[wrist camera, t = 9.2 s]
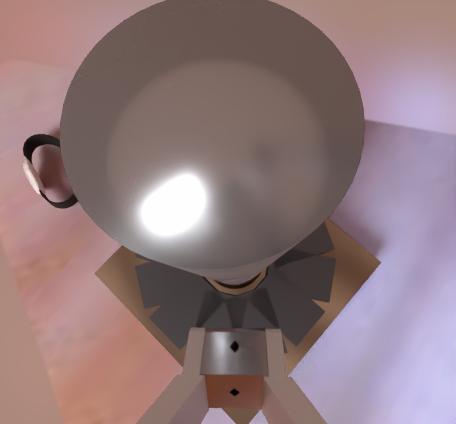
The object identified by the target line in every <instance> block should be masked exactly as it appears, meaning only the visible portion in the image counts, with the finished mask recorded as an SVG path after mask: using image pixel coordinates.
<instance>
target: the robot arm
mask: <svg viewBox="0 0 456 424" xmlns="http://www.w3.org/2000/svg"><path fill="white" fill-rule="evenodd" d="M209 408H245V409H262V412H263V414H264V416H265V418H266V419H267V421H268V423H269V424H327V423H326V422H325V420H324V419H323V418H322V416H321V415H320V414H319V412H318V411H317V410H316V409H315V407H314V406H313V405H312V403H311V402H310V401H309V399H308V398H307V397H306V395H305V394H304V393H303V391H302V390H301V389H300V388H299V386H298V385H297V384H296V382H295V381H294V380H293V378H292V377H287V373H286V365H285V357H284V349H283V341H282V333H281V330H280V329H265V328H235V329H225V328H196V327H191V329H190V331H189V336H188V342H187V348H186V354H185V359H184V365H183V371H182V375H177V376H176V377H175V378H174V379H173V380H172V382H171V383H170V384H169V385H168V386H167V388H166V389H165V390H164V391H163V392H162V394H161V395H160V396H159V397H158V398H157V400H156V401H155V402H154V403H153V404H152V405H151V407H150V408H149V409H148V410H147V411H146V413H145V414H144V415H143V416H142V417H141V419H140V420H139V421H138V422H137V423H136V424H201V422H202V420H203V419H204V417H205V415H206V414H207V412H208V410H209Z"/></svg>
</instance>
